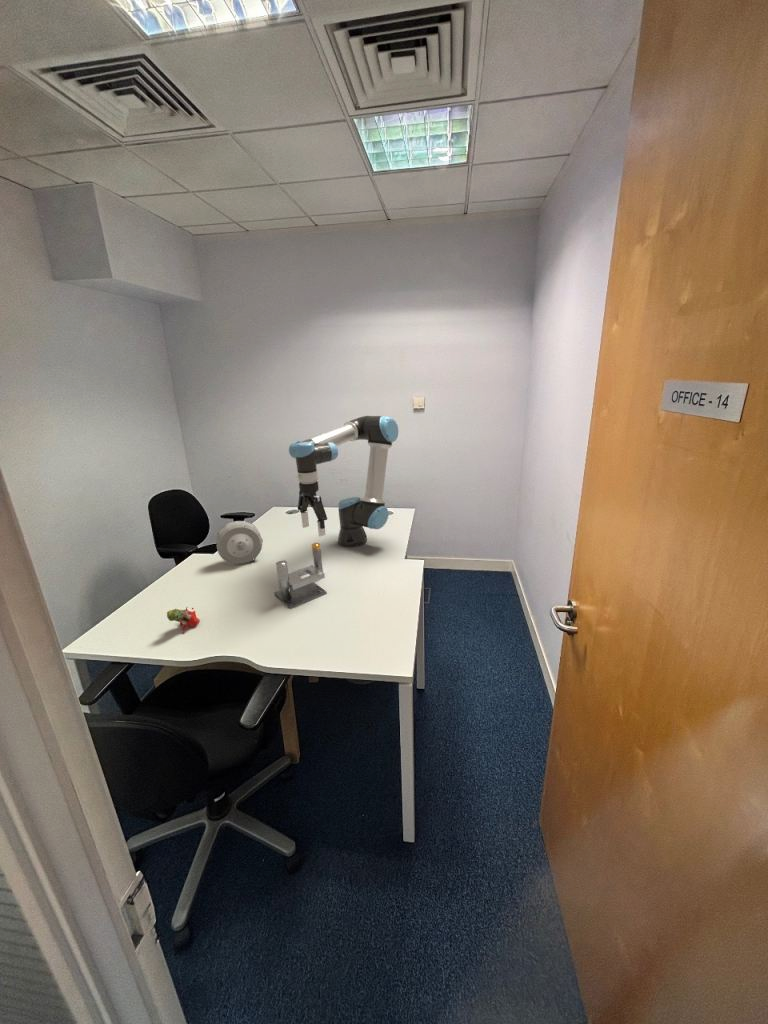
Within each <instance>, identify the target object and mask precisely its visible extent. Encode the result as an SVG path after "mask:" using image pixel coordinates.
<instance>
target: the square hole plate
mask: <svg viewBox="0 0 768 1024" xmlns="http://www.w3.org/2000/svg"><path fill="white" fill-rule="evenodd" d="M275 566H276V573H277V580H278V585H279V590H277V591H274V592H273V594H274V596H275V597H277V599H278V600H280V601H281V602H282V603H283V604H284V606H286V607H287V608H288V609H290V610H291V609H293V608H296V607H298V606H301V605H303V604H305V603H308V602H311V601H313V600H315V599H317V598H319V597H322V596H324V595H327V590H325V589H324V588H323V587H321V586H320V585H318V584H317V583H315V582H317V581H319V580H322V579H325V577H326V576H325V572H324V571H323V572H322V571H320V570H319V569H317V568H316V567H314V564H311V565H308V566H306V567H302V568H299V569H297V570H294V571H292V572H289V568H288V567H289V566H288V561H287V560H279V561H277V562H275ZM306 575H308V576H306ZM304 576H305V577H304ZM302 577H303V578H302Z"/></svg>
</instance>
